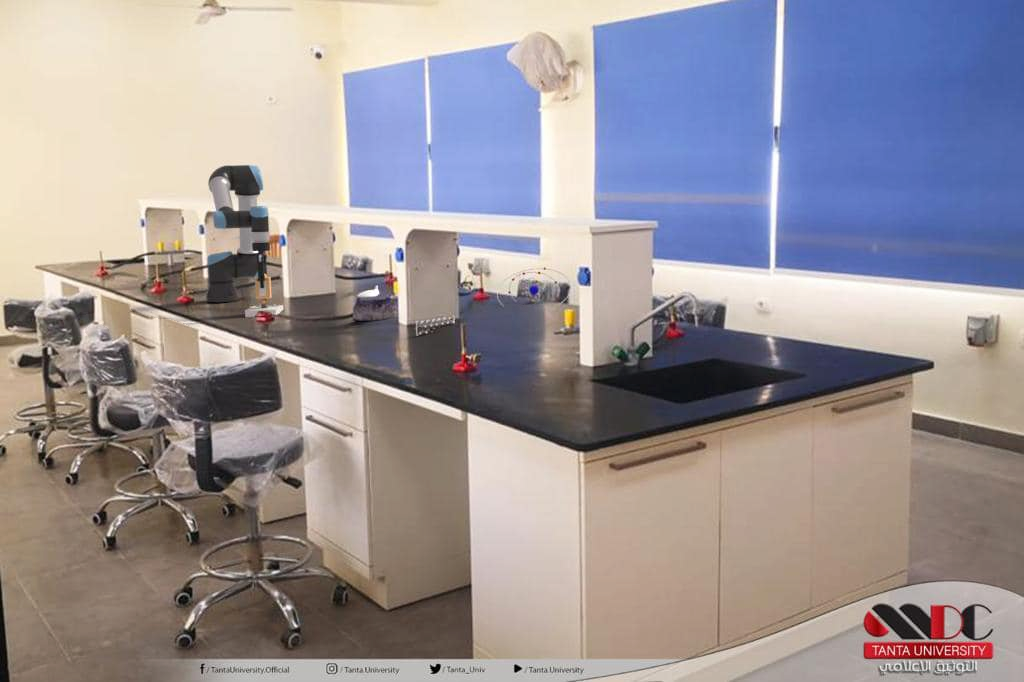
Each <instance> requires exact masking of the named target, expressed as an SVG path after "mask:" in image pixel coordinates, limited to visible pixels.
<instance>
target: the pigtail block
mask: <svg viewBox="0 0 1024 682" xmlns="http://www.w3.org/2000/svg"><path fill="white" fill-rule="evenodd" d="M261 300H262V303H261V304H258V305H253V306H251V307H249V308H247V309H245V310H244V316H245V318H256V317H255V315H256V314H257V312H258V311H269V312H271V313H272V314H274V315H277V314H278V315H279V314H280V313H281V312H283V311H284V304H272V305H271V304H270V305H268V303H267V302H266V300H267V299H261ZM278 315H277V316H278Z"/></svg>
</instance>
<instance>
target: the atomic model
mask: <svg viewBox="0 0 1024 682" xmlns="http://www.w3.org/2000/svg"><path fill="white" fill-rule="evenodd" d="M532 270H534V268H530V269H525V270H521V271H519V272H516V273H514V274H512V275H510V276H508V277H507V278H506V279H504V280H503V281H502V282H501V283H500V285H499V287H498V289H497V291H496V296H497V297H496V298H497V300H498V302H499V303H500V304H502V302H501V301H500V299H499V296H498V295H499V294H498V293H499V290H500V287H501V285H502V284H503V283H504V282H506V280H508V279H510V278H511V277H512V278H511V281H510V283H509V285H508V286H509V287H508V294H510V297H511V299H513V300H514V301H515V302H517V300H516V299H515V298H514V297H513V296H512V294H511V293H512V292H511V285H512V282H514V281H515V279H516V278H517V277H519V276H521V275H523V276H525V275H526V274H528V273H529V274H530V273H533V271H532ZM537 270H548V271H554V272H557V273H559V274H561V275H563V276H564V277H565V278H566V279H567V280H568V282H569V283H570V285H572V283H571V280H570V279H569V277H568V276H566V275H565V274H564V273H562V272H561V271H558V270H556V269H555V270H554V269H550V268H546V267H542V268H537ZM527 271H528V272H527ZM535 273H536V274H538V275H541V274H542V275H544V276H547V277H549V278H550V279H551V280H553V281H554V284H556V286H557V290H558V292H557V293H558V294H557V296H555V299H554V301H556V300H558V299H559V294H560V287H559V284H558V281H556V280H555V279H554V278H553V277H551V276H550V275H548V274H546V273H544V272H540V271H534V274H535ZM514 275H516V276H515V277H514V278H513V276H514ZM531 279H533V280H535V283H536V284H537V285H531V287H530V280H531ZM538 282H539V281H538V280H537V279H535V277H530V278H529V279H528V282H527V283H528V284H527V287H528V288H527V290H528V295H529V297H530V300H531V301H533V303H534V302H535V303H539V301H540V298H541V290H540V284H539V283H538ZM571 292H572V289H570V290H569V292H568V295H567V296H566V297H565V298H564V300H563V301H561V302H560V303H558V304H557V306H559V305H561V304H563V302H565V301H566V300H567V299H568V298H569V296H570V295H571ZM538 293H539V297H538V300H537V301H535V300H533V299H534V298H533V295H534V296H535V295H537V294H538ZM531 295H532V296H531ZM502 307H505V305H503V304H502Z"/></svg>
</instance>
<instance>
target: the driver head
mask: <svg viewBox="0 0 1024 682" xmlns="http://www.w3.org/2000/svg"><path fill="white" fill-rule="evenodd" d="M374 287H375V288H374V289H369V290H364V291H362V292H360V293H358V294H357V295H356V297H357V298H372V297H377V296H378V295H380V291H379V286H378V285H375V286H374Z"/></svg>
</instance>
